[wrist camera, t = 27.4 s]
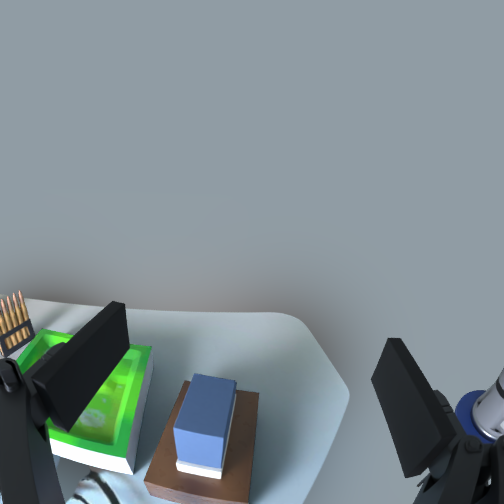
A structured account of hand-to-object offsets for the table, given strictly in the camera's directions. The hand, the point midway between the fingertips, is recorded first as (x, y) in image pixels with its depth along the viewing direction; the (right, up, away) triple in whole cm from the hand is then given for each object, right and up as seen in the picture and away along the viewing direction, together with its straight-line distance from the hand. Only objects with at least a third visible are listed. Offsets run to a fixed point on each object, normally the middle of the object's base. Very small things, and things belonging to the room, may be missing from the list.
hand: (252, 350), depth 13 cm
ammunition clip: (-51, -16, +29) cm, 61 cm away
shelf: (-6, -24, +20) cm, 32 cm away
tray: (-30, -21, +23) cm, 43 cm away
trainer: (-6, -19, +18) cm, 27 cm away
